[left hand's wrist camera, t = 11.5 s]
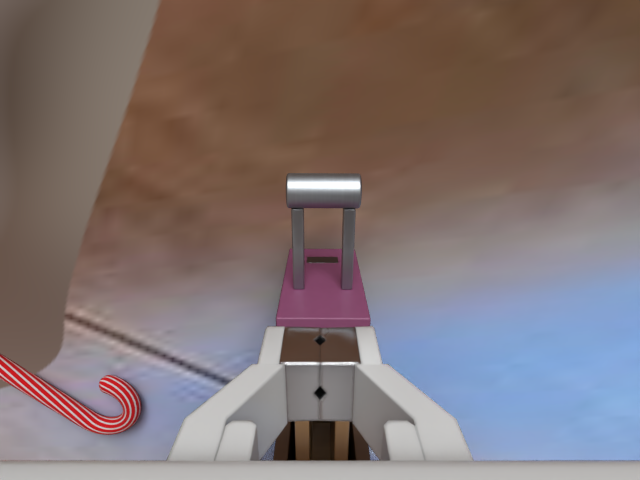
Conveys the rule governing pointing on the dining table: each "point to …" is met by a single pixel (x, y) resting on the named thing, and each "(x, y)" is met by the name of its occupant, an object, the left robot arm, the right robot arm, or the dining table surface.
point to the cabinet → (287, 450)
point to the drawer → (322, 290)
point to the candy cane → (70, 407)
